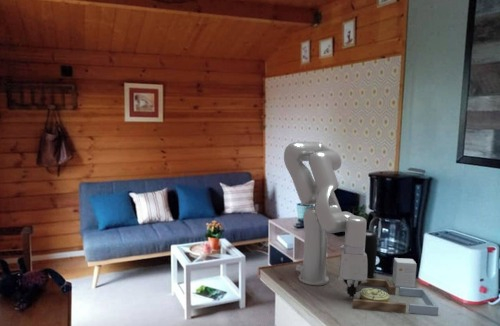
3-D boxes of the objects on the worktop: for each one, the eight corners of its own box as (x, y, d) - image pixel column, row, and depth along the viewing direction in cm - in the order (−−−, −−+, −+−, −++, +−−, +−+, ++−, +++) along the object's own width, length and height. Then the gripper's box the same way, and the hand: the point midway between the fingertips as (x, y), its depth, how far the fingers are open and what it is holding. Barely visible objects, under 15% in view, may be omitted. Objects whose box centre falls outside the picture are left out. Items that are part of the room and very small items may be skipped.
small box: (411, 282, 176) (413, 258, 175) (414, 288, 171) (417, 263, 169) (391, 281, 177) (393, 257, 176) (394, 286, 171) (397, 262, 170)
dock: (409, 313, 148) (410, 305, 148) (398, 294, 164) (399, 286, 164) (437, 315, 147) (438, 307, 147) (423, 296, 163) (424, 288, 163)
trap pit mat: (358, 290, 166) (358, 290, 166) (356, 285, 170) (356, 285, 170) (387, 293, 164) (387, 292, 164) (385, 288, 169) (385, 287, 169)
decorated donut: (376, 293, 164) (377, 284, 164) (394, 305, 154) (395, 295, 154) (354, 296, 160) (354, 287, 160) (371, 309, 150) (372, 299, 150)
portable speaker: (354, 278, 178) (357, 234, 176) (354, 270, 187) (357, 228, 185) (374, 280, 176) (378, 236, 174) (374, 273, 185) (377, 230, 183)
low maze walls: (353, 308, 150) (353, 300, 150) (345, 283, 172) (345, 276, 172) (405, 312, 148) (406, 304, 148) (391, 287, 170) (391, 280, 170)
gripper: (335, 250, 153) (332, 298, 155) (376, 253, 151) (373, 301, 153) (333, 244, 160) (330, 290, 162) (372, 247, 158) (369, 293, 161)
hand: (351, 295), depth 158 cm, fingers closed
